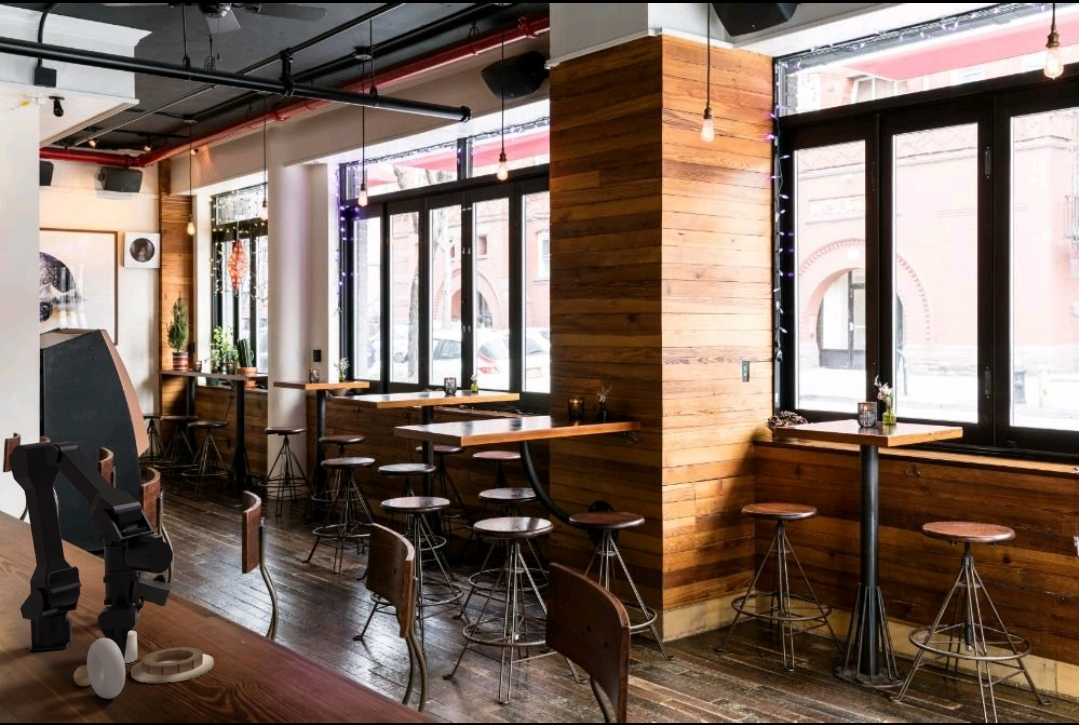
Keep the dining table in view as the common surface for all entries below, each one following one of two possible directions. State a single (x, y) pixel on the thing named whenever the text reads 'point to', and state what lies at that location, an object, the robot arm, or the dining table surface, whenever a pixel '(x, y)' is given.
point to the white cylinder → (131, 647)
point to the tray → (172, 677)
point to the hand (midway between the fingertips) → (124, 651)
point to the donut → (106, 668)
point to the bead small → (82, 676)
